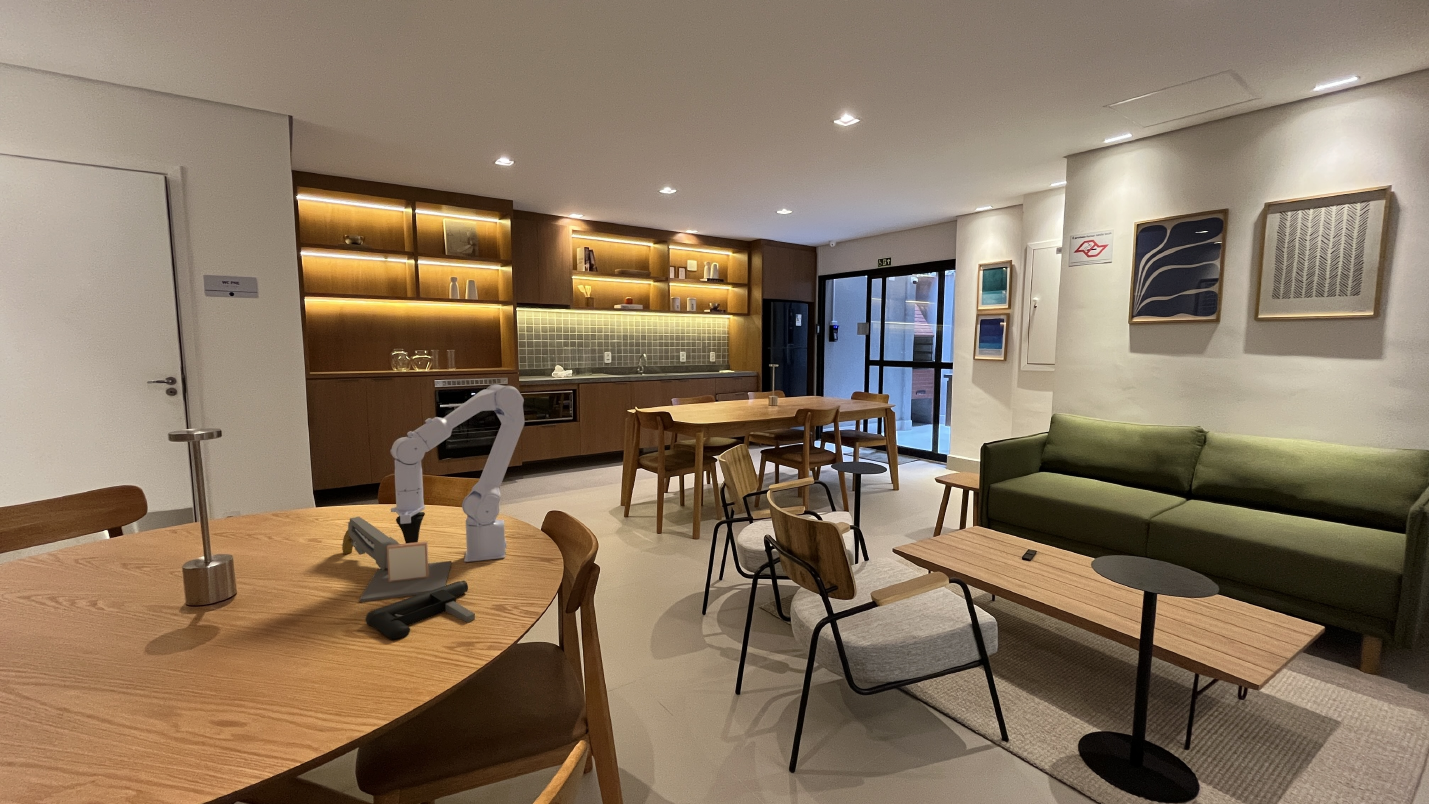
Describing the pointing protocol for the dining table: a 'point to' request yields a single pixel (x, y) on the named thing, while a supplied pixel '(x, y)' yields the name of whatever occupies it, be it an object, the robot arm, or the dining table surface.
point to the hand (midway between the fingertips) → (412, 545)
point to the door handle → (419, 610)
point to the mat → (405, 583)
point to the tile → (407, 561)
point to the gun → (367, 541)
